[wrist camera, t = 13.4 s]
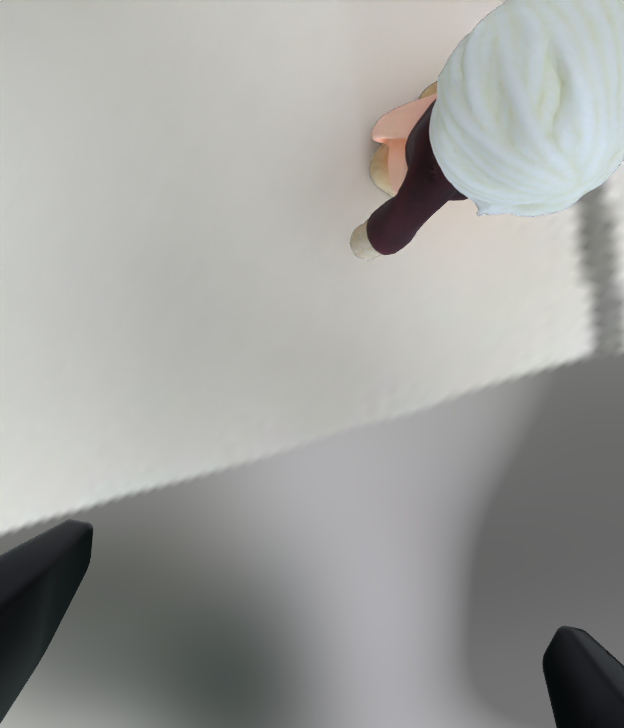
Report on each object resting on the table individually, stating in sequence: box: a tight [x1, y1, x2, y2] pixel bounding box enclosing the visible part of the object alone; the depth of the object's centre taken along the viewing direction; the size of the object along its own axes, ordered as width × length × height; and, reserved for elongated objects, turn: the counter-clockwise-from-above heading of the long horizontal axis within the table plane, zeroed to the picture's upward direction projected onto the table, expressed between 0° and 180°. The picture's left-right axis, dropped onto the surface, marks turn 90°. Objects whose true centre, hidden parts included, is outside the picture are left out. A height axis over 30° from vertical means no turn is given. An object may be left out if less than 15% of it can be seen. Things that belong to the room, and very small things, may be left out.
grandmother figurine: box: [350, 0, 624, 260], centre depth 12 cm, size 8×4×13 cm, turn 148°
